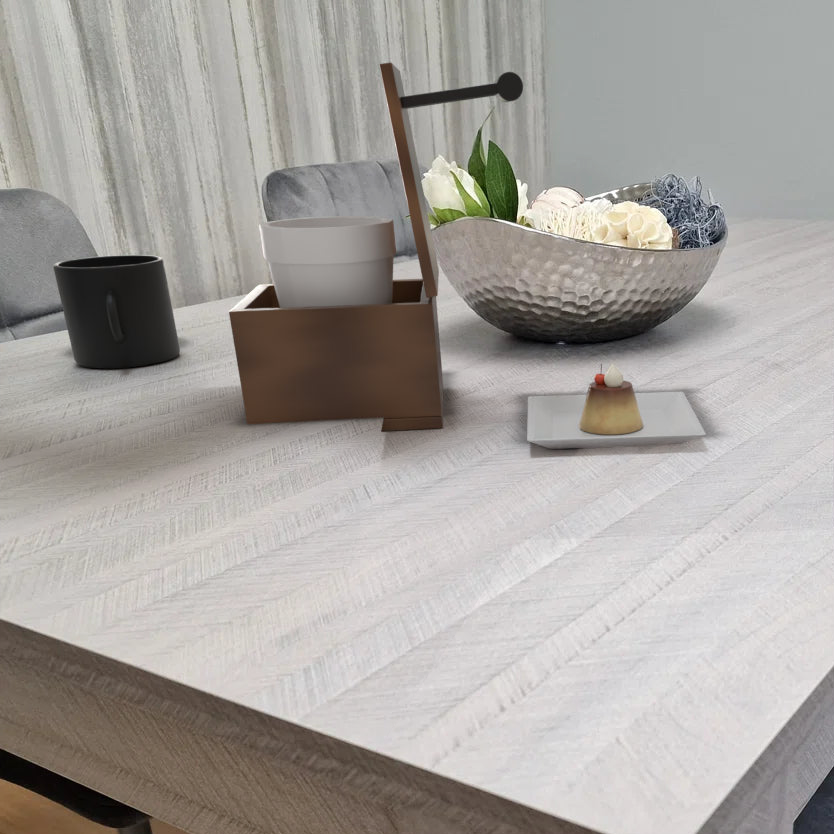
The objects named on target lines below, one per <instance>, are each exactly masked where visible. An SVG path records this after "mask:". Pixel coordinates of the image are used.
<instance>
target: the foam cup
mask: <svg viewBox="0 0 834 834" xmlns="http://www.w3.org/2000/svg"><path fill="white" fill-rule="evenodd" d="M258 229H259V237H260V243H261V249H262V255H263V259H264V260H265V261H266V262H267V266H268V269H269V272H270V273H269V274H270V276H271V280H272V284H274V287H275V291H276V295H277V298H278V302H279V306H280V308H286V307H312V306H338V305H365V304H391V303H392V293H393V280H394V256H395V255H396V254H397V247H396V245H397V244H396V236H395V225H394V219H392V218H389V217H384V216H383V217H382V216H369V215H368V216H367V215H362V216H360V215H354V216H353V215H340V216H339V215H338V216H313V217H312V216H311V217H299V218H286V219H278V220H271V221H266V222H262V223H259V224H258Z"/></svg>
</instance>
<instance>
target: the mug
mask: <svg viewBox="0 0 834 834" xmlns="http://www.w3.org/2000/svg"><path fill="white" fill-rule="evenodd" d="M52 268H53V273H54V276H55V281H56V285H57V290H58V294H59V298H60V304H61V307H62V310H63V316H64V320H65V324H66V328H67V333H68V337H69V343H70V346H71V350H72V355H73V360H74V361H75V363H76V364H77V365H79V366H81V367H85V368H90V369H100V370H107V369H108V370H111V369H112V370H115V369H129V368H130V369H131V368H139V367H145V366H151V365H156V364H160V363H161V364H162V363H164V362H168V361H170V360H172V359H175V358H176V357H178V356H179V355H180V352H181V348H180V342H179V337H178V332H177V326H176V322H175V316H174V309H173V305H172V299H171V293H170V288H169V284H168V278H167V277H168V276H167V273H166V268H165V262H164V259H163V257H161V256H157V255H148V254H147V255H146V254H119V255H118V254H117V255H102V256H89V257H80V258H74V259H68V260H62V261H59V262H56V263H54V264H53V267H52Z"/></svg>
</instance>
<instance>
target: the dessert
mask: <svg viewBox="0 0 834 834" xmlns="http://www.w3.org/2000/svg"><path fill="white" fill-rule="evenodd" d="M602 366H603V364H602V363H600V372H602V370H603V369H602V368H603V367H602ZM623 375H624V374H623V373H622V372H621V370H619V369H618V367H617V366H615V364H614V363H611V365H610V367H609V368H608V370H607V371H606V372H605V373H596V374H595V375H594V377H593V378H594V379H593V380H594V381H592V382H591V383H589V385H588V388H587V392H586V394H562V395H561V394H559V395H531V396H527V425H526V440H527V442H530V443H532V444H535V445H538V446H541V447H544V448H547V449H549V450H559V449H560V450H561V449H585V448H586V449H590V448H619V447H621V448H622V447H624V448H625V447H648V446H649V447H650V446H651V447H652V446H680V445H683V444H687V443H689V442H692V441H694V440H697V439H699V438H702V437H704V436H706V435H707V434H706V431H705V429H704V428H703V426H702V424H701V422H700V420H699V418H698V416H697V415H696V413H695V411H694V410H693V408H692V406H691V403H690V402H689V399H687V396H686V395H685V393H684V391H659V392H657V391H656V392H635V390H634V387H633V383H632V382H630V381H628V380H624V376H623Z"/></svg>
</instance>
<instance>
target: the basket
mask: <svg viewBox="0 0 834 834" xmlns="http://www.w3.org/2000/svg"><path fill="white" fill-rule="evenodd" d="M437 303H438V302H437V296H435V297H429V298H427V297H426V293H425V288H424V283H423V278H404V279H403V278H402V279H393V293H392V303H391V304H365V305H338V306H312V307H286V308H280V306H279V302H278V298H277V295H276V291H275V287H274V284H273V283H264V284H263V283H261V284H257V286H256V287H255V288H254V289H252V290H251V291H250V292H249V293H248V294H247V295H246V296H244V297H243V298H242V299H241V300H240V301H239V302H237V304H236V305H235V306H233V308H231V309H230V310H229V311H228V314H229V321H230V327H231V334H232V340H233V345H234V346H233V347H234V351H235V359H236V364H237V369H238V376H239V382H240V388H241V389H240V390H241V394H242V401H243V407H244V413H245V420H246V424H247V425H257V424H275V423H277V424H279V423H294V422H295V423H296V422H297V423H298V422H315V421H317V422H318V421H335V420H354V419H355V420H357V419H374V418H375V419H376V418H383V420H382V425H381V430H380V431H381V432H390V431H410V430H411V431H412V430H429V429H443V428H444V378H443V366H442V353H441V341H440V340H441V339H440V329H439V317H438V316H439V315H438V304H437Z"/></svg>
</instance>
